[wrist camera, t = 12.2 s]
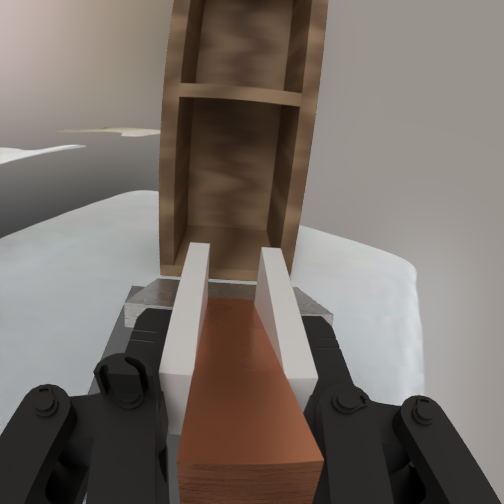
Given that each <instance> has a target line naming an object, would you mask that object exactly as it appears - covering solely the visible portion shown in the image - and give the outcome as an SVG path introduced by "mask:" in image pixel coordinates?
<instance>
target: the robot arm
mask: <svg viewBox="0 0 504 504" xmlns="http://www.w3.org/2000/svg"><path fill="white" fill-rule="evenodd" d="M209 249H210V244H207V243H192V242H190V245H189V249H188V252H187V256H186V260H185V264H184V267H183V271H182V275H181V279H180V283H179V287H178V291H177V295H176V299H175V303H174V307H173V310H168V309H156V308H146V309H145V310H144V311H143V312H142V313H141V314H140V315H139V316H138V317H137V319H136V322H135V325H134V328H133V331H132V333H131V336H130V341H129V342H128V345H127V347H126V350H125V353H115V354H112V355H110V356H107V357H105V358H104V359H103V360H101V361H100V362H99V363H98V364H97V366H96V368H95V369H94V371H93V372H94V375H95V378H96V381H97V384H98V387H99V389H100V392H99V393H97V394H92V395H84V396H71V397H69V396H68V395H67V393H66V392H65V390H63V389H62V388H60V387H59V386H56V385H51V384H46V385H39V386H37V387H35V388H33V389H32V390H31V391H30V392H29V393H28V394H27V395H26V396H25V397H24V399H23V400H22V402H21V403H20V405H19V407H18V408H17V410H16V411H15V413H14V414H13V416H12V418H11V419H10V421H9V423H8V424H7V426H6V427H5V429H4V431H3V432H2V434H1V436H0V504H82V503H83V500H84V498H85V495H86V493H87V499H86V504H170V500H169V473H168V447H167V443H166V440H167V432H168V430H169V434H176V435H181V432H182V427H183V421H184V416H185V411H186V405H187V400H188V395H189V390H190V384H191V379H192V374H193V371H194V367H195V361H196V356H197V351H198V346H199V341H200V336H201V331H202V326H203V321H204V316H205V312H206V307H207V301H208V273H209ZM254 306H255V308H256V310H257V313H258V315H259V317H260V319H261V322H262V324H263V326H264V329H265V331H266V333H267V335H268V338H269V340H270V342H271V345H272V347H273V349H274V351H275V354H276V356H277V358H278V360H279V363H280V365H281V367H282V369H283V372H284V374H285V375H286V377H287V380H288V382H289V384H290V386H291V388H292V391H293V393H294V395H295V397H296V400H297V402H298V404H299V406H300V408H301V411H302V413H303V415H304V417H305V419H306V422H307V424H308V426H309V428H310V430H311V432H312V435H313V437H314V439H315V441H316V443H317V445H318V448H319V450H320V452H321V454H322V456H323V458H324V463H323V467H322V471H321V474H320V478H319V481H318V485H317V488H316V491H315V495H314V498H313V501H312V504H501V502H500V500H499V499H498V497H497V495H496V494H495V492H494V490H493V488H492V487H491V485H490V483H489V482H488V480H487V479H486V477H485V475H484V473H483V472H482V470H481V468H480V467H479V465H478V464H477V462H476V460H475V459H474V457H473V456H472V454H471V452H470V451H469V449H468V448H467V446H466V445H465V443H464V442H463V440H462V438H461V437H460V435H459V434H458V432H457V431H456V429H455V428H454V426H453V425H452V423H451V422H450V420H449V419H448V417H447V416H446V414H445V413H444V411H443V410H442V408H441V407H440V406H439V405H438V404H437V403H436V402H435V401H434V400H432V399H430V398H428V397H425V396H421V395H417V396H411V397H409V398H408V399H406V400H405V401H404V403H403V404H402V406H396V405H389V404H383V403H378V402H374V401H371V400H370V399H369V397H368V395H367V394H366V393H365V392H364V391H363V390H362V389H360V388H358V387H356V386H354V384H353V381H352V379H351V376H350V373H349V371H348V368H347V365H346V363H345V360H344V357H343V355H342V352H341V349H339V344H338V341H337V340H336V336H335V334H334V331H333V329H332V326H331V325H330V324H329V323H328V322H327V321H326V320H325V319H324V318H323V317H322V316H301V315H300V311H299V308H298V305H297V301H296V298H295V294H294V291H293V288H292V284H291V281H290V278H289V274H288V271H287V268H286V264H285V261H284V258H283V254H282V251H281V248H268V247H261V255H260V263H259V271H258V279H257V286H256V294H255V302H254Z"/></svg>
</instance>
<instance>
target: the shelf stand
mask: <svg viewBox="0 0 504 504" xmlns="http://www.w3.org/2000/svg"><path fill="white" fill-rule="evenodd" d="M327 9H328V0H174V3H173V10H172V17H171V24H170V31H169V39H168V47H167V57H166V66H165V76H164V89H163V100H162V115H161V134H160V159H159V162H160V163H159V247H160V273H161V275H169V276H181V275H182V271H183V267H184V264H185V260H186V256H187V252H188V249H189V245H190V242H192V243H207V244H210V249H209V273H208V278H213V279H229V280H246V281H257V279H258V271H259V263H260V255H261V247H268V248H281V251H282V254H283V258H284V261H285V264H286V268H287V271H288V274H289V278H290V274H291V268H292V263H293V257H294V251H295V246H296V240H297V234H298V228H299V222H300V216H301V210H302V204H303V198H304V192H305V185H306V178H307V172H308V166H309V159H310V152H311V145H312V138H313V130H314V124H315V116H316V109H317V101H318V92H319V85H320V76H321V67H322V58H323V50H324V40H325V30H326V20H327Z"/></svg>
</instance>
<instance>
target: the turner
mask: <svg viewBox="0 0 504 504" xmlns="http://www.w3.org/2000/svg"><path fill="white" fill-rule="evenodd" d="M179 283H180V280H172V279H159V278H157V279H156V280H155V281H153V282H152V283H150V284H149V285H148V286H146V287H145V288H144V289H142V290H141V291H140V292H138V293H137V294H135V295H134V296H133V297H131V298H130V299H129V300H127V301H126V302H125V303H124V314H125V327H130V328H134V325H135V322H136V319H137V317H138V316H139V315H140V314H141V313H142V312H143V311H144V310H145V309H146V308H156V309H168V310H173V307H174V303H175V299H176V295H177V291H178V287H179ZM256 286H257V285H247V284H230V283H214V282H208V301H207V307H206V312H205V316H204V321H203V326H202V331H201V336H200V341H199V346H198V351H197V356H196V361H195V367H194V371H193V374H192V379H191V384H190V390H189V395H188V400H187V405H186V411H185V416H184V421H183V427H182V432H181V438H180V444H179V449H178V455H177V473H178V485H179V496H180V504H312V501H313V498H314V495H315V491H316V488H317V485H318V481H319V478H320V474H321V471H322V467H323V463H324V458H323V456H322V454H321V452H320V450H319V448H318V445H317V443H316V441H315V439H314V437H313V435H312V432H311V430H310V428H309V426H308V424H307V422H306V419H305V417H304V415H303V413H302V411H301V408H300V406H299V404H298V402H297V400H296V397H295V395H294V393H293V391H292V388H291V386H290V384H289V382H288V380H287V377H286V375H285V374H284V372H283V369H282V367H281V365H280V363H279V360H278V358H277V356H276V354H275V351H274V349H273V347H272V345H271V342H270V340H269V338H268V335H267V333H266V331H265V329H264V326H263V324H262V322H261V319H260V317H259V315H258V313H257V310H256V308H255V306H254V302H255V294H256ZM292 288H293V291H294V294H295V298H296V301H297V305H298V308H299V311H300V315H301V316H322V317H323V318H324V319H325V320H326V321H327V322H328V323H329V324H330V325H331V326H332V321H333V314H332V313H330V312H329V311H328V310H326V309H325V308H324V307H322V306H321V305H320V304H318V303H317V302H316V301H314V300H313V299H312V298H311V297H309V296H308V295H307V294H305V293H304V292H303V291H301V290H300V289H299V288H297V287H292Z"/></svg>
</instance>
